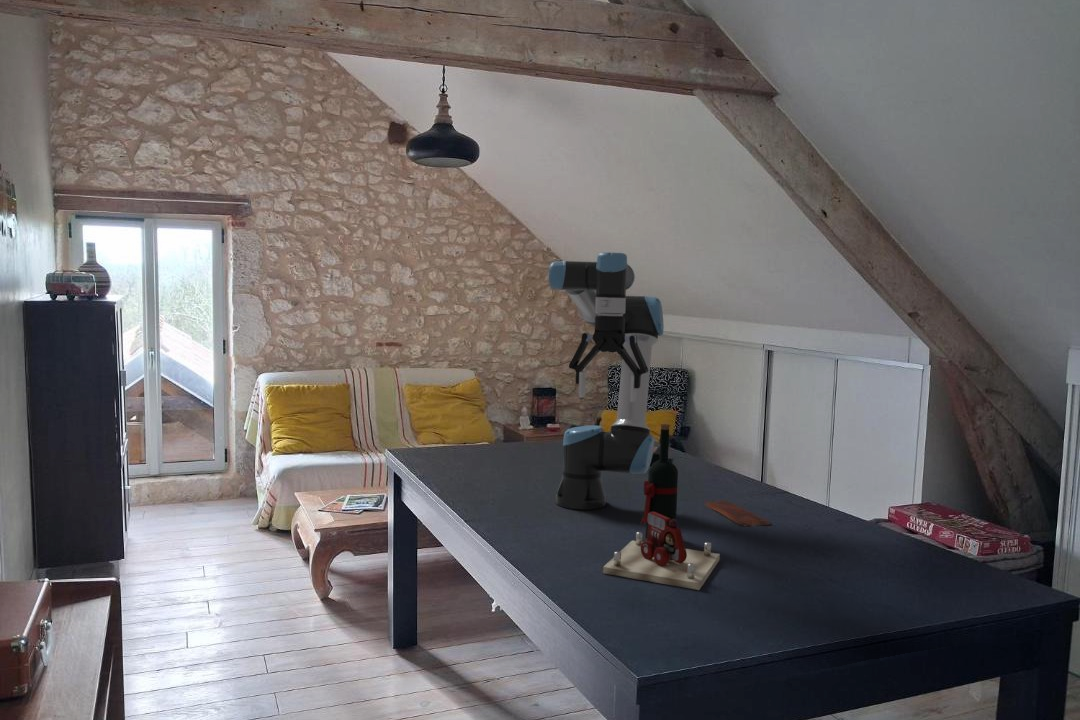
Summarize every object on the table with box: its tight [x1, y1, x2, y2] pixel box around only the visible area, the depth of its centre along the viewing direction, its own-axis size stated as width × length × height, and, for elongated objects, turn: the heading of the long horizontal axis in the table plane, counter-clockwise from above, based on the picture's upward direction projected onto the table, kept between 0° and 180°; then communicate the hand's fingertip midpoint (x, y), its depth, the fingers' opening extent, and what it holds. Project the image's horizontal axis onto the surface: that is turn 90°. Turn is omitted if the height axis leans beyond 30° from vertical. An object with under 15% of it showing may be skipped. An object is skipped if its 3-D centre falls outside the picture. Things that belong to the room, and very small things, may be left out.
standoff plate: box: [602, 531, 721, 591], centre depth 190 cm, size 22×22×4 cm
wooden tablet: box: [704, 499, 772, 527], centre depth 238 cm, size 27×10×2 cm, turn 14°
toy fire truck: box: [641, 512, 687, 566], centre depth 189 cm, size 7×12×10 cm, turn 29°
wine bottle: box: [640, 423, 679, 540], centre depth 210 cm, size 8×10×30 cm
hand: (607, 399), depth 204 cm, fingers open, 13 cm apart
